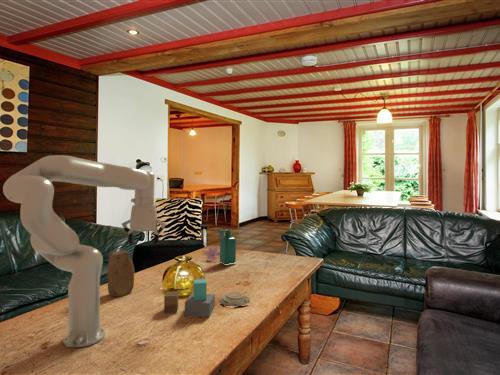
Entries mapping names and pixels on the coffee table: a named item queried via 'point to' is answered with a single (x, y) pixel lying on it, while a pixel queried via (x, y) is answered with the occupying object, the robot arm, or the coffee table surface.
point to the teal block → (200, 289)
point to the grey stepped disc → (234, 299)
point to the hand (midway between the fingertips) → (143, 243)
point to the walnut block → (171, 302)
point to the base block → (199, 306)
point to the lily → (212, 253)
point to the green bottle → (227, 247)
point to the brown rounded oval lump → (120, 273)
